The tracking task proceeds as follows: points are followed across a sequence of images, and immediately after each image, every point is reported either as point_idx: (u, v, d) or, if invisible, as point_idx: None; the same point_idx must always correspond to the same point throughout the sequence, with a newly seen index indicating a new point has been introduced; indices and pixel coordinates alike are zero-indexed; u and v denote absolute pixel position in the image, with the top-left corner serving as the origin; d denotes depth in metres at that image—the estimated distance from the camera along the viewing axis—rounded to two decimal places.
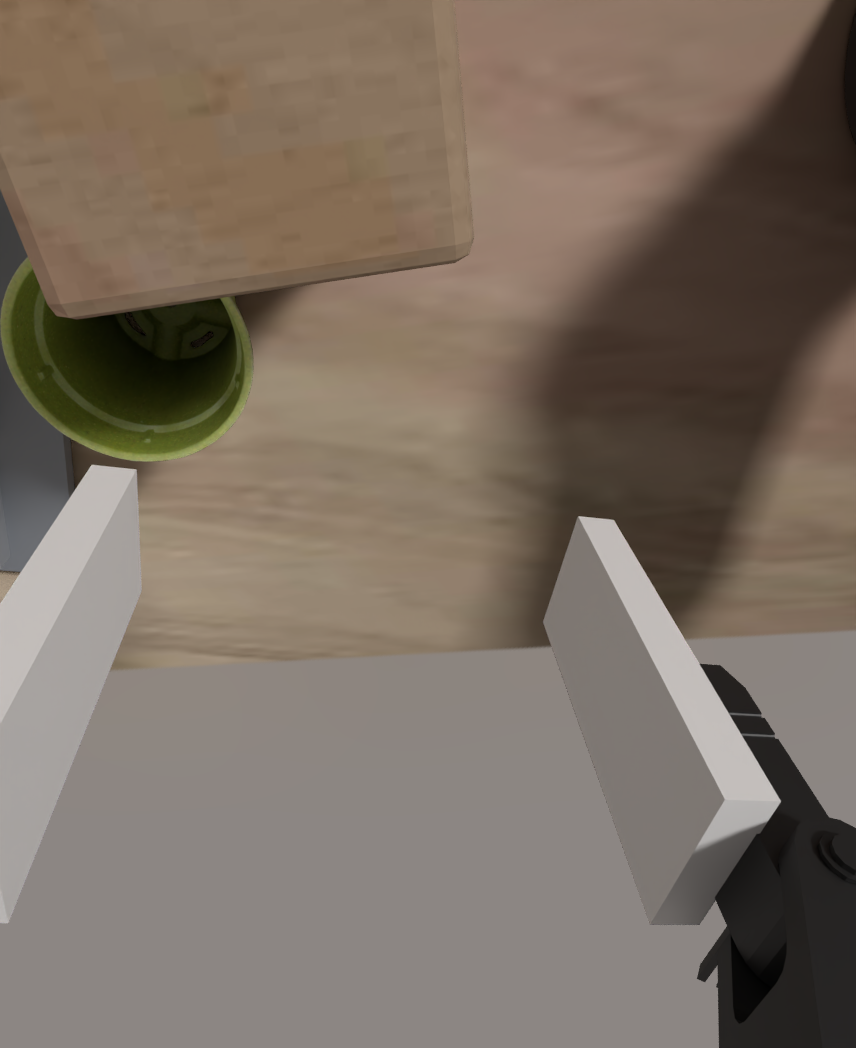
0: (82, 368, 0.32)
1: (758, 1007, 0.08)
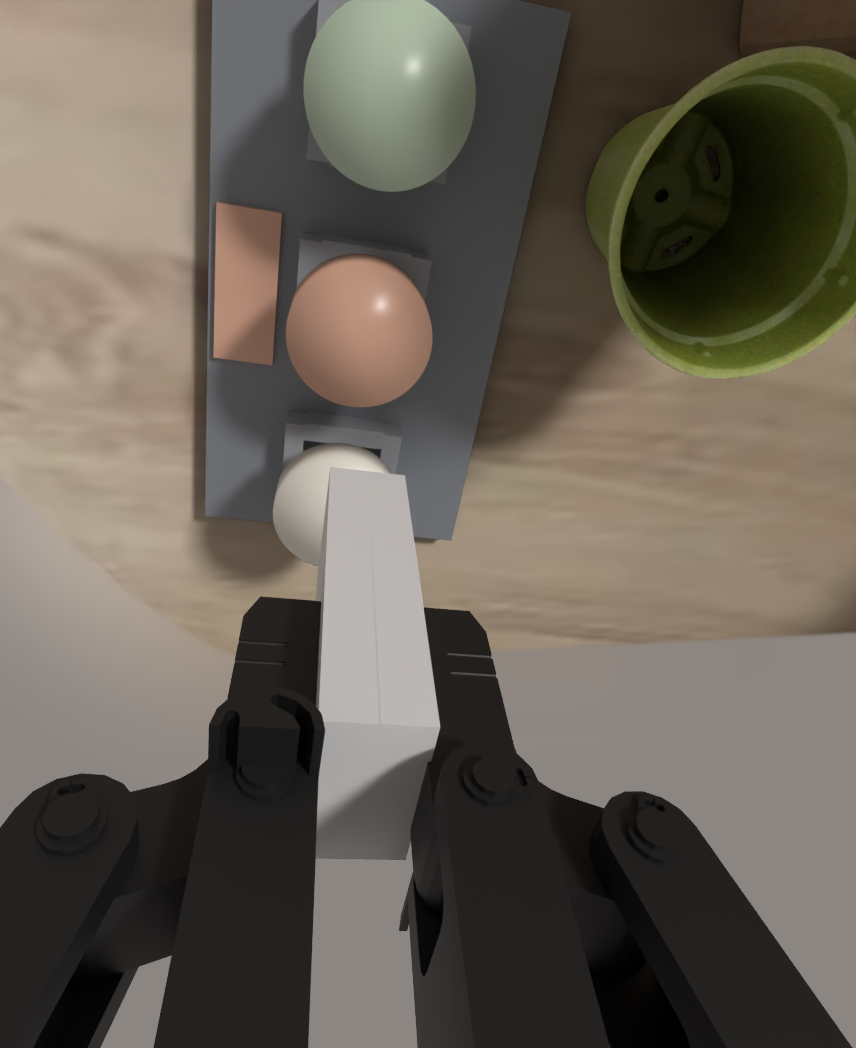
0: None
1: (432, 959, 0.08)
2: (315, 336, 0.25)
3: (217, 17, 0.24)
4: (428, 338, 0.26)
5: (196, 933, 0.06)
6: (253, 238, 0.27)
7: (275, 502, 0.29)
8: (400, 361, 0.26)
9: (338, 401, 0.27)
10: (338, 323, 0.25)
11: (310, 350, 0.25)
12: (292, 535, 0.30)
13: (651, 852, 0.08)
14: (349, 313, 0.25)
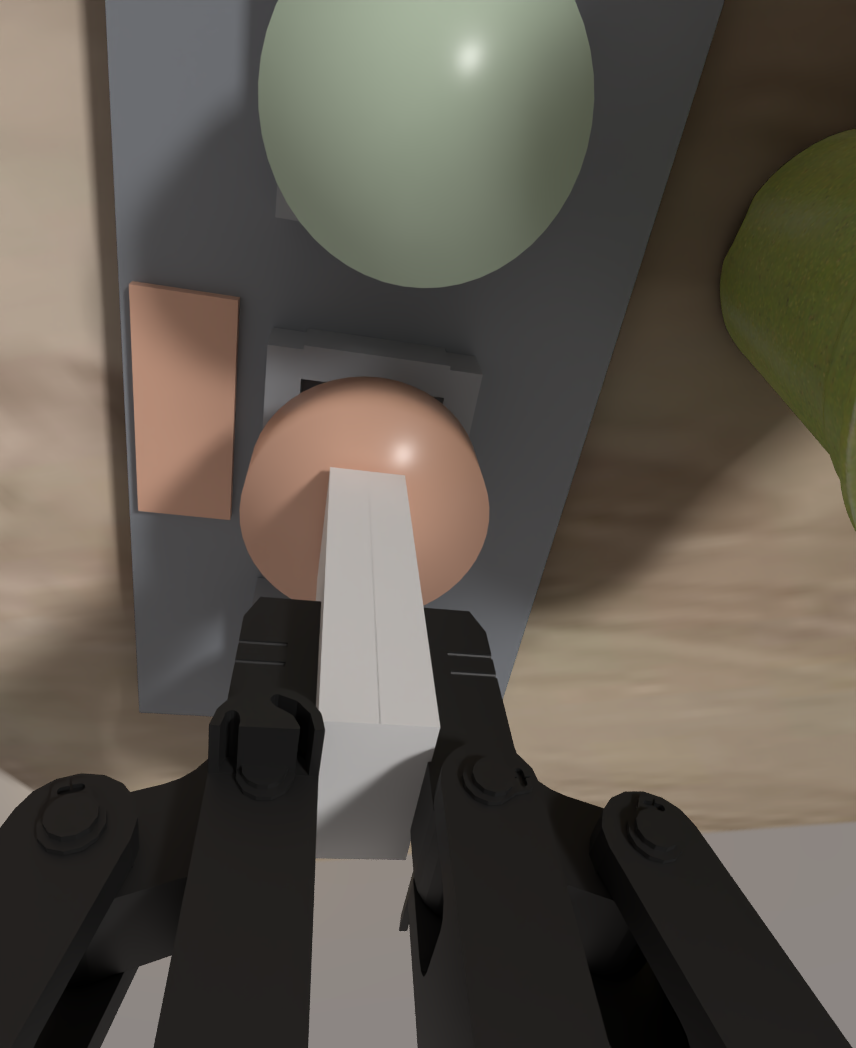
0: None
1: (432, 958, 0.08)
2: (291, 519, 0.15)
3: None
4: (482, 518, 0.15)
5: (196, 934, 0.06)
6: (193, 338, 0.17)
7: None
8: (434, 552, 0.16)
9: None
10: None
11: (282, 540, 0.15)
12: None
13: (651, 852, 0.08)
14: None
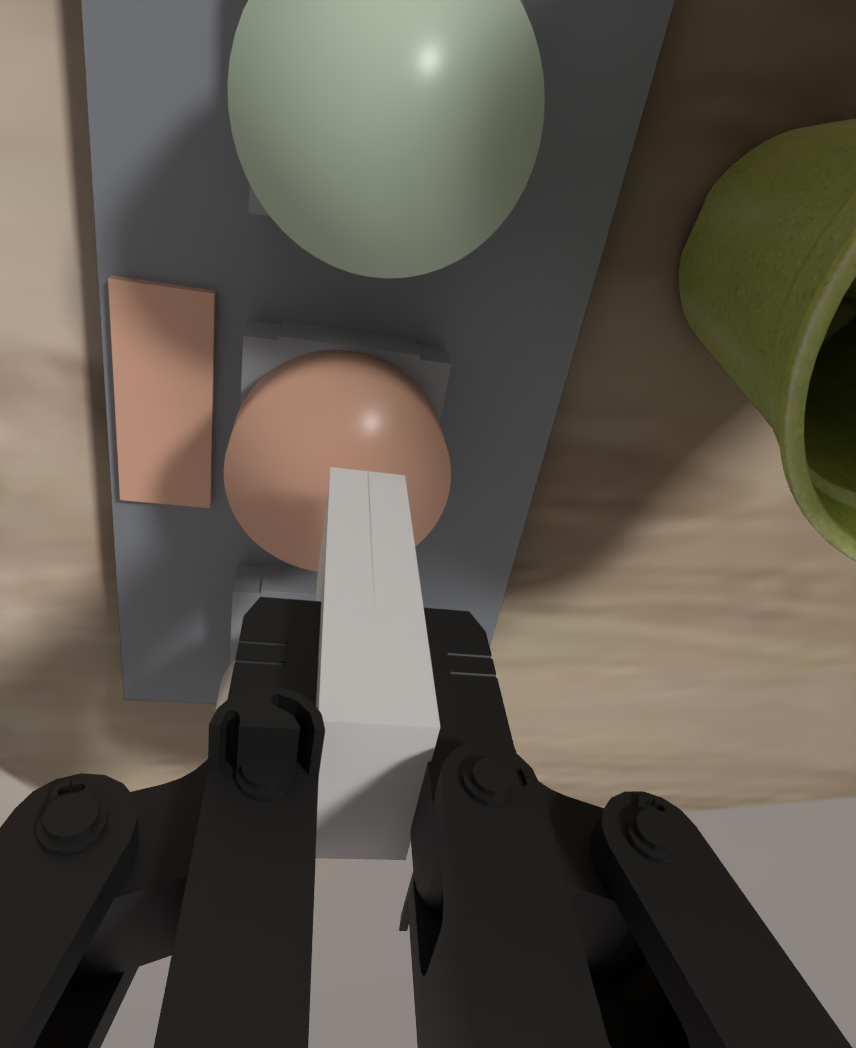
0: None
1: (432, 959, 0.08)
2: (271, 479, 0.16)
3: None
4: (444, 478, 0.17)
5: (196, 933, 0.06)
6: (171, 331, 0.17)
7: None
8: None
9: (308, 566, 0.18)
10: (305, 461, 0.16)
11: (263, 499, 0.17)
12: None
13: (651, 852, 0.08)
14: (322, 446, 0.16)
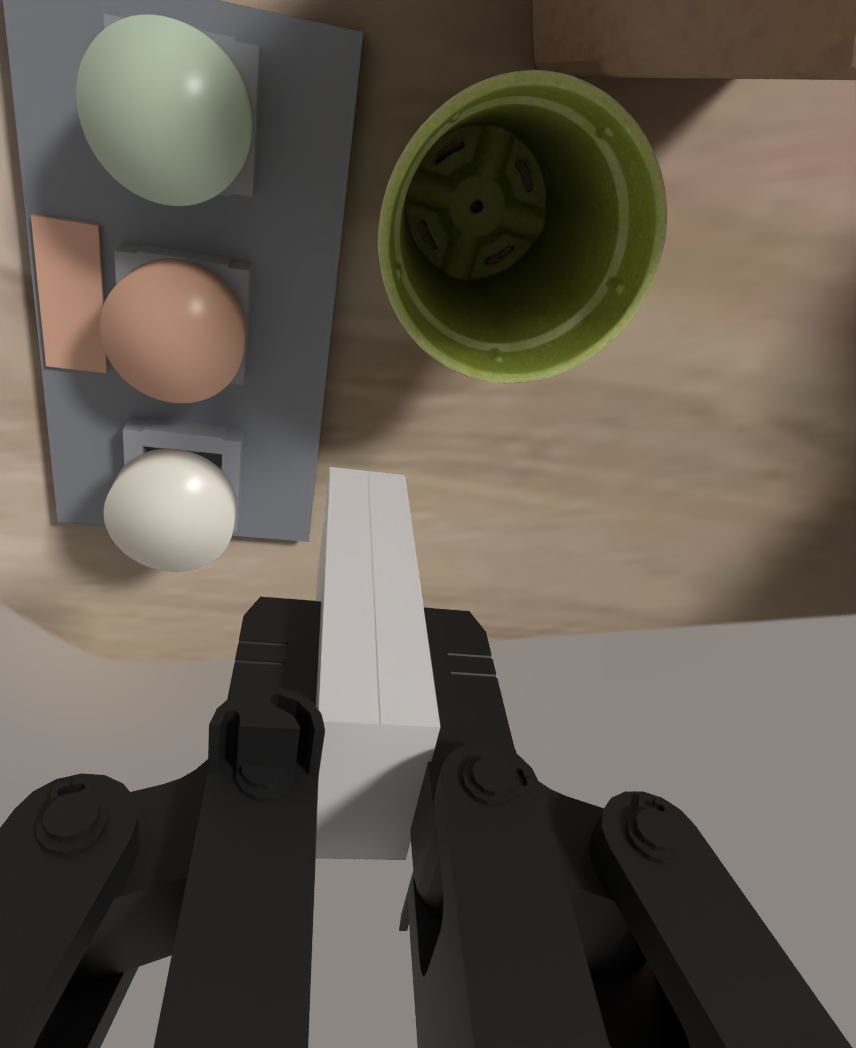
0: (413, 275, 0.26)
1: (432, 958, 0.08)
2: (129, 336, 0.27)
3: (12, 36, 0.24)
4: (238, 337, 0.27)
5: (196, 933, 0.06)
6: (72, 250, 0.28)
7: (105, 507, 0.29)
8: (215, 359, 0.28)
9: (159, 397, 0.28)
10: (150, 324, 0.27)
11: (126, 349, 0.27)
12: (126, 539, 0.30)
13: (651, 852, 0.08)
14: (159, 314, 0.27)
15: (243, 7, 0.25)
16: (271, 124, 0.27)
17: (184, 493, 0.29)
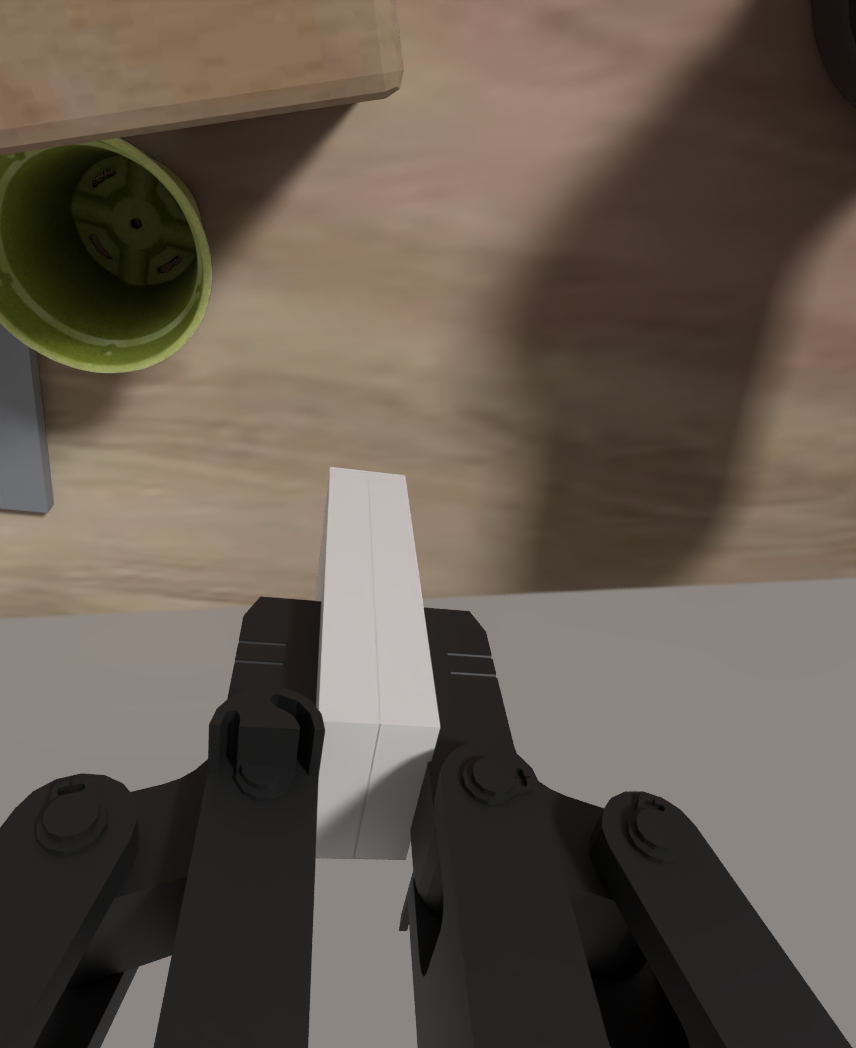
0: (43, 282, 0.31)
1: (431, 958, 0.08)
2: None
3: None
4: None
5: (195, 934, 0.06)
6: None
7: None
8: None
9: None
10: None
11: None
12: None
13: (651, 852, 0.08)
14: None
15: None
16: None
17: None
